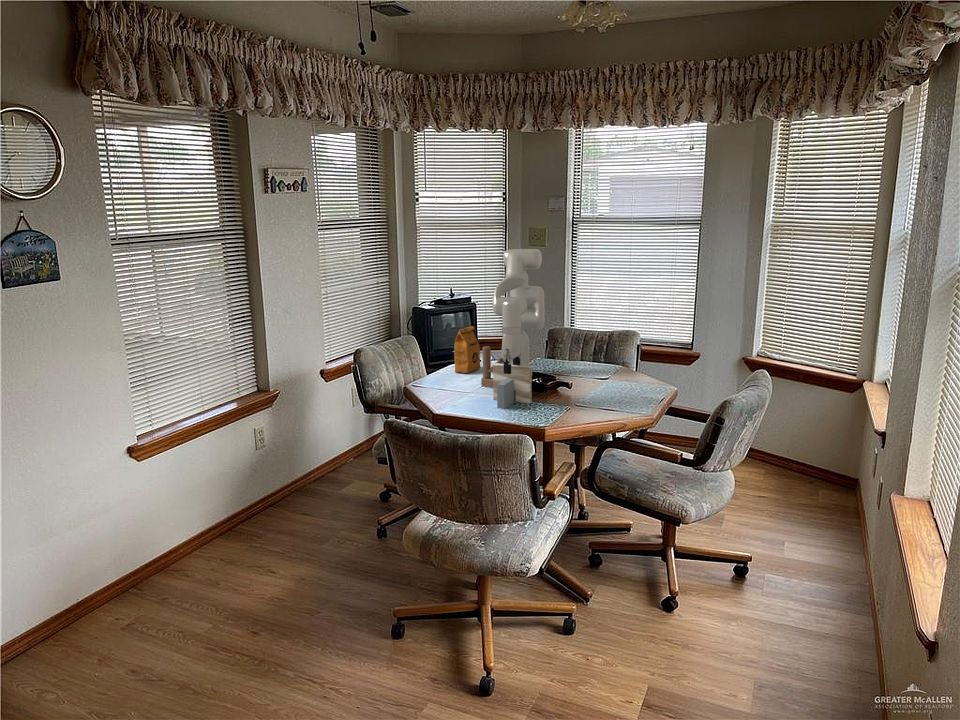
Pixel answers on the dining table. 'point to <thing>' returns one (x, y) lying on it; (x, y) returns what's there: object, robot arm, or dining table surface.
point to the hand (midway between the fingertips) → (512, 370)
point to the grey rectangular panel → (505, 393)
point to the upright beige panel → (521, 381)
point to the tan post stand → (488, 367)
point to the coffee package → (466, 351)
